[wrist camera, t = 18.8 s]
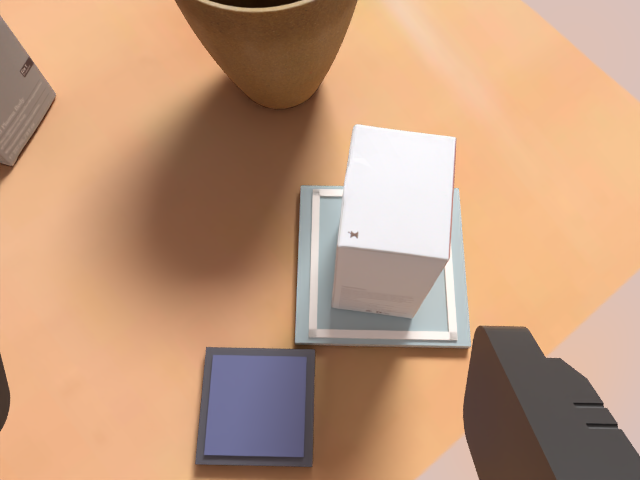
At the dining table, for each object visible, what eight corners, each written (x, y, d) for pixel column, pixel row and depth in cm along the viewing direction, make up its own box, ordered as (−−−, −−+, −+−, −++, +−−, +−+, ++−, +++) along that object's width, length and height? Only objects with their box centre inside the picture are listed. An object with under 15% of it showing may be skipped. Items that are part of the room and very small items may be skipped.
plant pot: (280, -13, 56) (266, -186, 41) (393, 76, 52) (422, -80, 37) (162, 76, 52) (98, -81, 37) (274, 179, 48) (253, 50, 33)
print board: (295, 344, 43) (294, 342, 42) (300, 189, 48) (300, 184, 47) (468, 348, 43) (471, 345, 42) (456, 192, 47) (459, 187, 46)
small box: (413, 320, 43) (451, 263, 30) (329, 309, 43) (333, 247, 31) (421, 222, 46) (458, 134, 33) (342, 212, 46) (351, 121, 34)
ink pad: (197, 464, 40) (194, 464, 39) (208, 349, 43) (205, 346, 41) (312, 466, 40) (312, 466, 38) (315, 351, 43) (315, 348, 41)
